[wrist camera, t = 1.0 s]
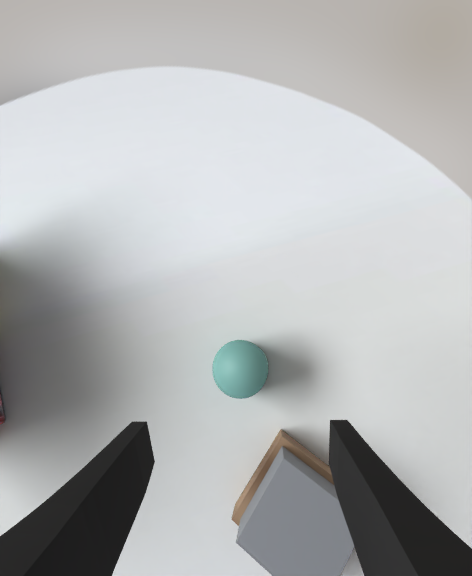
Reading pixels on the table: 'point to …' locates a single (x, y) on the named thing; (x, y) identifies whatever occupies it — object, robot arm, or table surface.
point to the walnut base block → (266, 462)
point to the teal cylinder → (240, 369)
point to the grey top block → (295, 522)
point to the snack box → (1, 412)
